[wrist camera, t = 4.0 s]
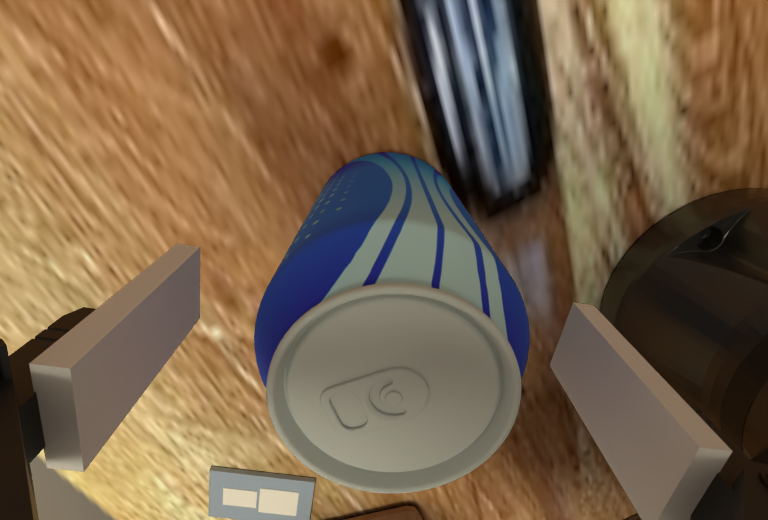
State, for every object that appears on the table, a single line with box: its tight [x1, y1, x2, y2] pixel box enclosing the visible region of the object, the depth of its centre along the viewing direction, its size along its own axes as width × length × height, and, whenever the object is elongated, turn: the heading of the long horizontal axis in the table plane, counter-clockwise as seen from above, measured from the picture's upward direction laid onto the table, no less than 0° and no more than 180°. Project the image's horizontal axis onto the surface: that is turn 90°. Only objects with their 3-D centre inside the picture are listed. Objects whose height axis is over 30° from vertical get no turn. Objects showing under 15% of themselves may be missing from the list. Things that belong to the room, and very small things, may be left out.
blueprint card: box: [209, 466, 316, 520], centre depth 34 cm, size 8×5×1 cm, turn 80°
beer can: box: [254, 152, 529, 494], centre depth 19 cm, size 8×8×16 cm
